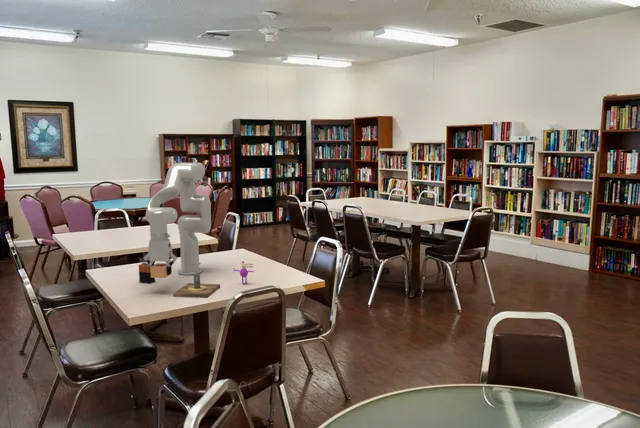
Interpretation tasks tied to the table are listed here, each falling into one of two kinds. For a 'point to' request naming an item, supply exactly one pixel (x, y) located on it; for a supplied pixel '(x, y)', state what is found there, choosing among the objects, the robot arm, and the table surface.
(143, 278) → the battery
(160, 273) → the tan square box
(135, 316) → the table surface
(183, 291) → the post base
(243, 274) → the wizard figurine
